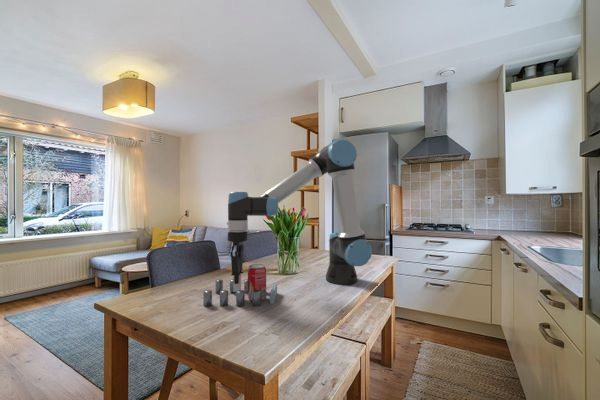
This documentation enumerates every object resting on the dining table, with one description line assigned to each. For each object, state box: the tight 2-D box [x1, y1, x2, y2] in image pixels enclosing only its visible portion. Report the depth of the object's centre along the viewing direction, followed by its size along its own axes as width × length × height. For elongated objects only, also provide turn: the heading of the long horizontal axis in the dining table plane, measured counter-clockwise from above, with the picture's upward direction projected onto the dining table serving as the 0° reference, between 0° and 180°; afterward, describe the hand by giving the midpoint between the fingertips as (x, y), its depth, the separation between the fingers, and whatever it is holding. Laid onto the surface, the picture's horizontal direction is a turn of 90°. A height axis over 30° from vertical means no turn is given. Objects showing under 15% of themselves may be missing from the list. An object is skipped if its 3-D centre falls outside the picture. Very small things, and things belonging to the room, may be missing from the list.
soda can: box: [247, 263, 267, 302], centre depth 105 cm, size 7×7×13 cm
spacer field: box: [202, 278, 262, 308], centre depth 106 cm, size 21×17×5 cm
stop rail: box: [269, 283, 278, 305], centre depth 106 cm, size 2×12×4 cm, turn 0°
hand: (237, 291), depth 106 cm, fingers closed
